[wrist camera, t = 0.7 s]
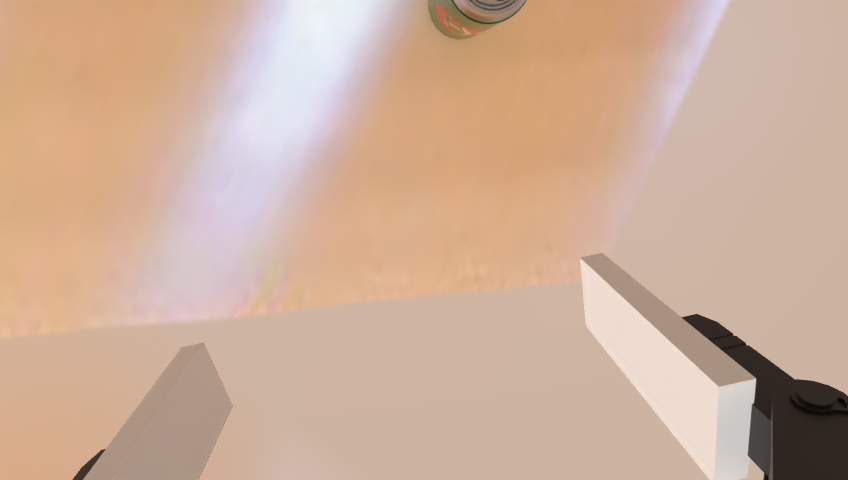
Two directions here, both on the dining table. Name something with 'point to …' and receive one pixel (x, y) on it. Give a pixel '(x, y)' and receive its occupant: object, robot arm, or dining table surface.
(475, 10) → the soda can
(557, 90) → the dining table surface
